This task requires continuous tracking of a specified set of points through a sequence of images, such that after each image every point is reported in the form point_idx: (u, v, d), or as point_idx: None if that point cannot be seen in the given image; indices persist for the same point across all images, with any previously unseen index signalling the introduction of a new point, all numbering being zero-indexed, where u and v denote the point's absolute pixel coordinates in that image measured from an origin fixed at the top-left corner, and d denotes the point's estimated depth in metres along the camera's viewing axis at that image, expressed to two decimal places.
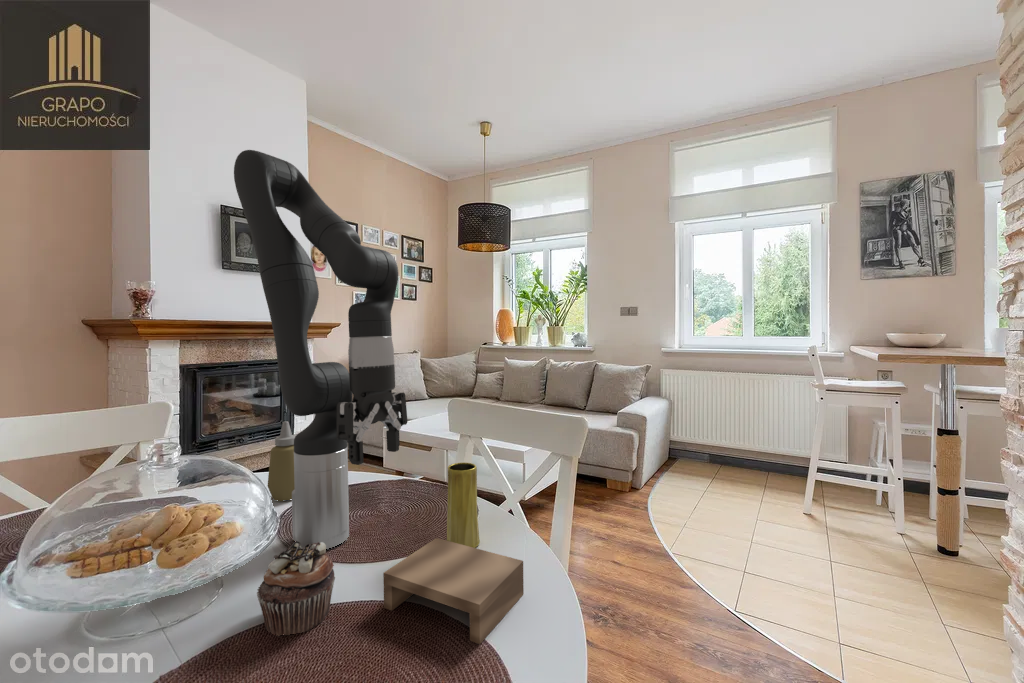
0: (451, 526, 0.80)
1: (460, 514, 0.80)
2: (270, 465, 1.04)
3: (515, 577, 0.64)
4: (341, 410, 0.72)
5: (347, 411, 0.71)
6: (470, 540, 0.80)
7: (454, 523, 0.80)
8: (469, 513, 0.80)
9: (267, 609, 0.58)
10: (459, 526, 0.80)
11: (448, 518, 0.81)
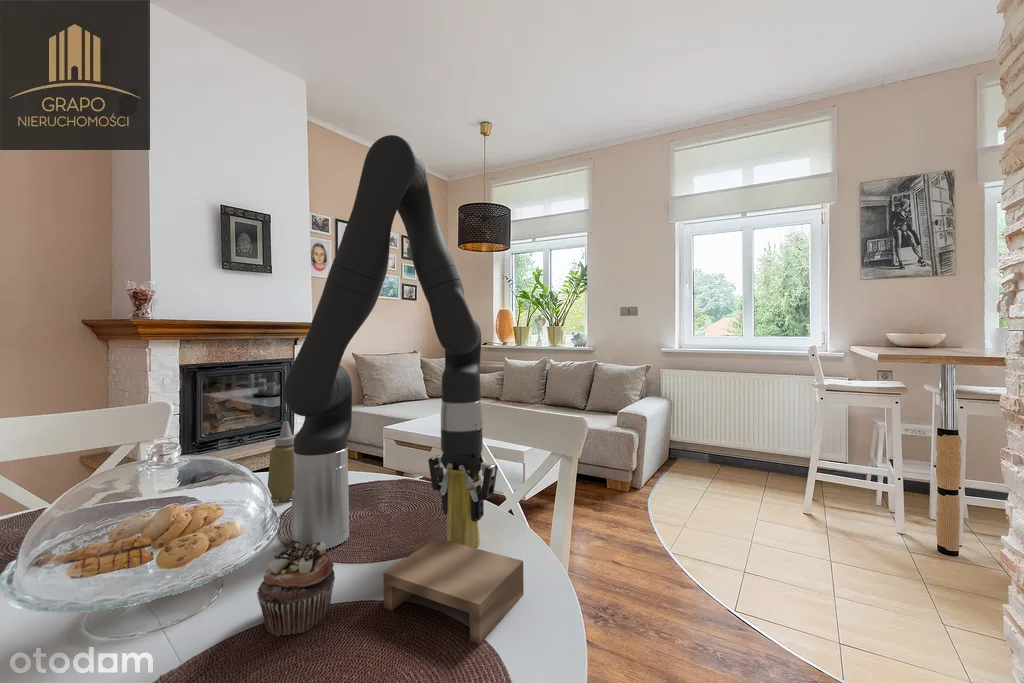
0: (451, 526, 0.80)
1: (460, 514, 0.80)
2: (270, 465, 1.04)
3: (515, 577, 0.64)
4: (492, 473, 0.79)
5: (496, 472, 0.80)
6: (470, 540, 0.80)
7: (454, 523, 0.80)
8: (469, 513, 0.80)
9: (267, 609, 0.58)
10: (459, 526, 0.80)
11: (448, 518, 0.81)
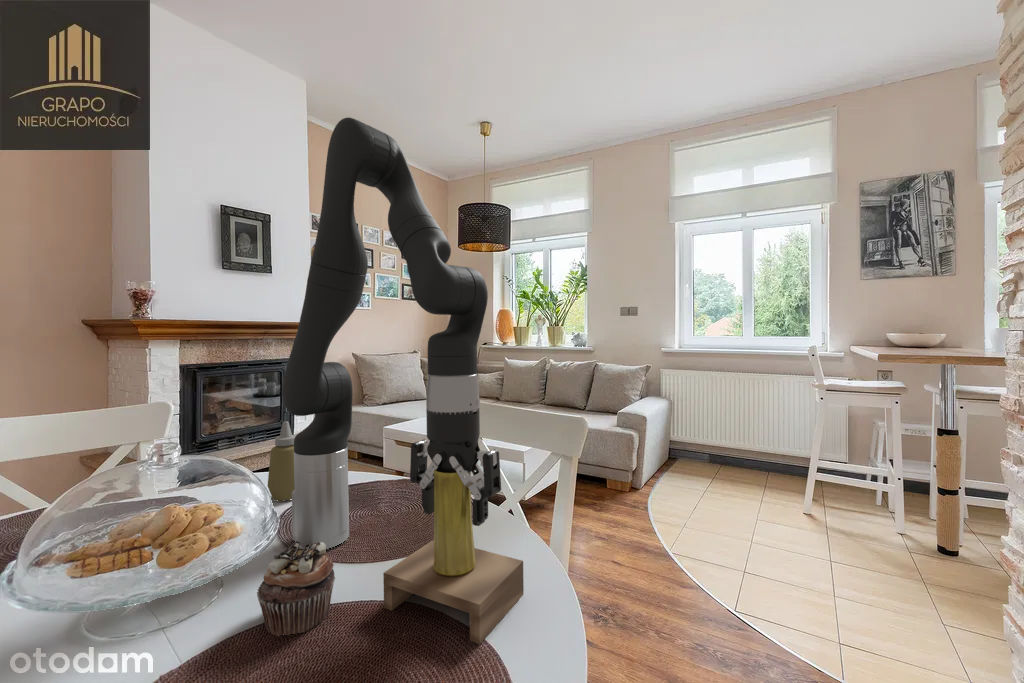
0: (439, 544, 0.63)
1: (450, 529, 0.62)
2: (270, 465, 1.04)
3: (515, 577, 0.64)
4: (494, 460, 0.61)
5: None
6: (463, 562, 0.63)
7: (443, 540, 0.63)
8: (462, 527, 0.63)
9: (267, 609, 0.58)
10: (449, 544, 0.62)
11: (435, 534, 0.64)
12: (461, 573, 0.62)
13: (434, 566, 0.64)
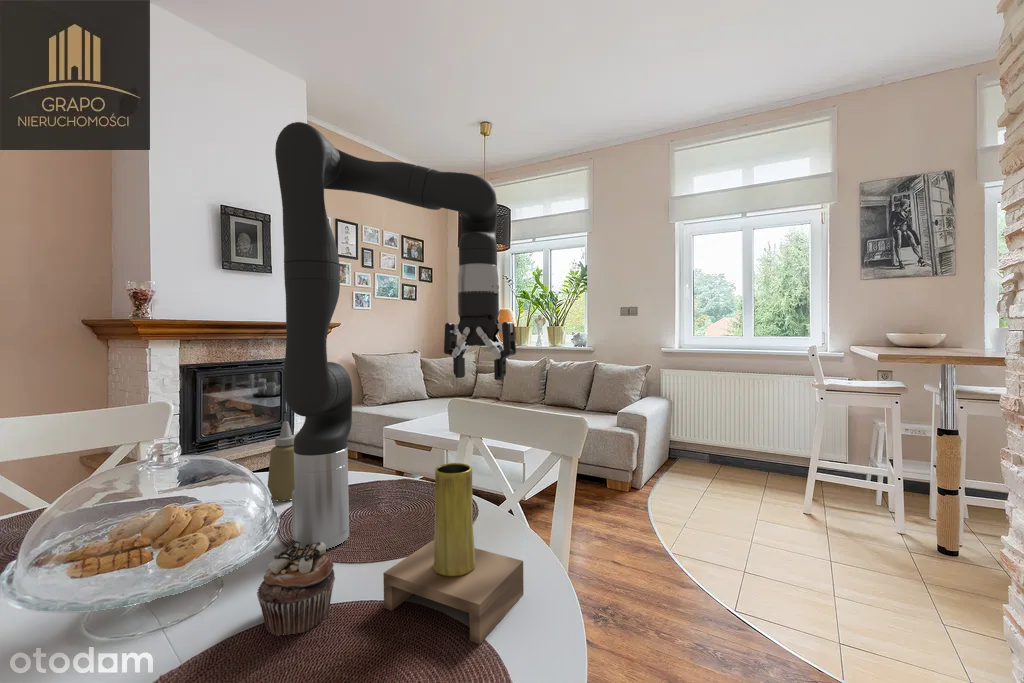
0: (439, 544, 0.63)
1: (451, 529, 0.62)
2: (270, 465, 1.04)
3: (515, 577, 0.64)
4: (510, 328, 0.80)
5: (514, 329, 0.81)
6: (464, 562, 0.63)
7: (443, 540, 0.63)
8: (462, 528, 0.63)
9: (267, 609, 0.58)
10: (450, 544, 0.62)
11: (436, 534, 0.64)
12: (461, 574, 0.62)
13: (434, 566, 0.64)
